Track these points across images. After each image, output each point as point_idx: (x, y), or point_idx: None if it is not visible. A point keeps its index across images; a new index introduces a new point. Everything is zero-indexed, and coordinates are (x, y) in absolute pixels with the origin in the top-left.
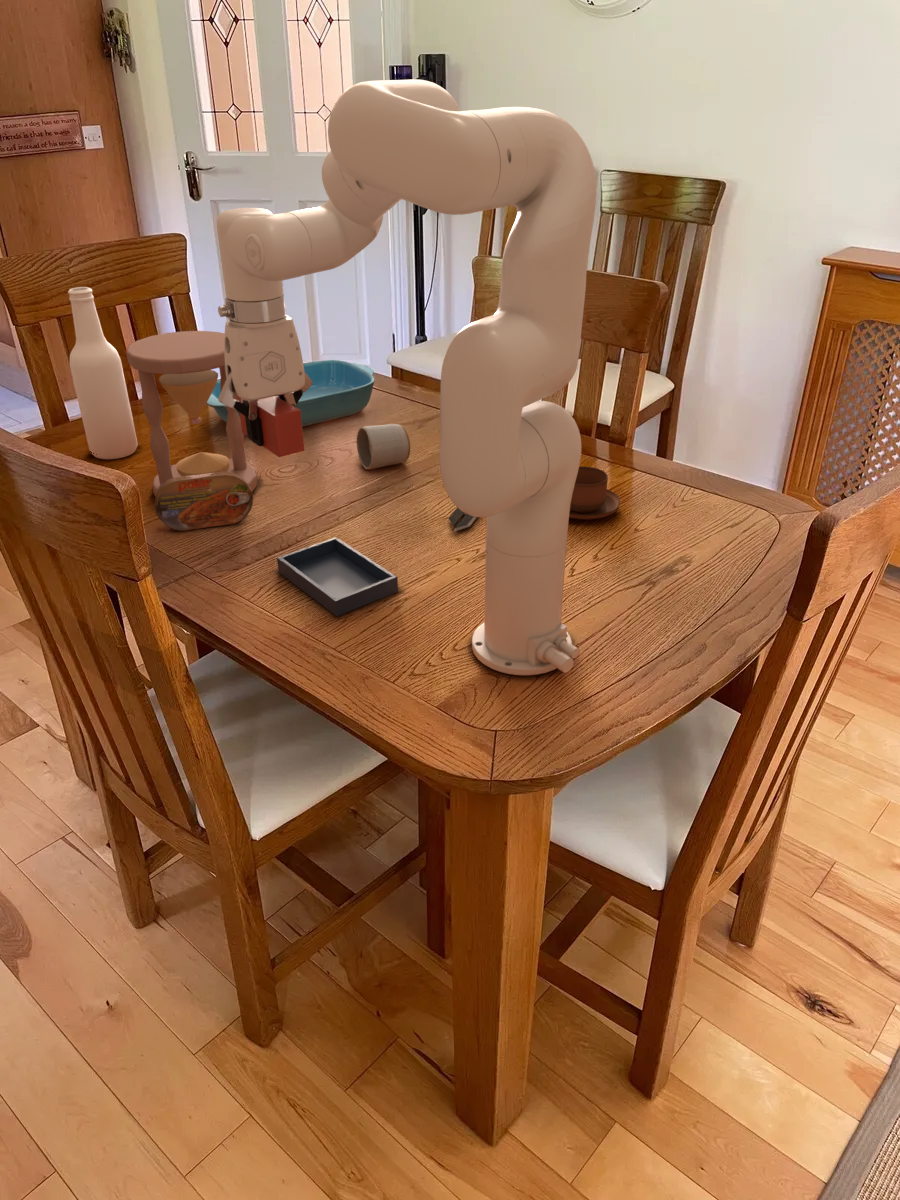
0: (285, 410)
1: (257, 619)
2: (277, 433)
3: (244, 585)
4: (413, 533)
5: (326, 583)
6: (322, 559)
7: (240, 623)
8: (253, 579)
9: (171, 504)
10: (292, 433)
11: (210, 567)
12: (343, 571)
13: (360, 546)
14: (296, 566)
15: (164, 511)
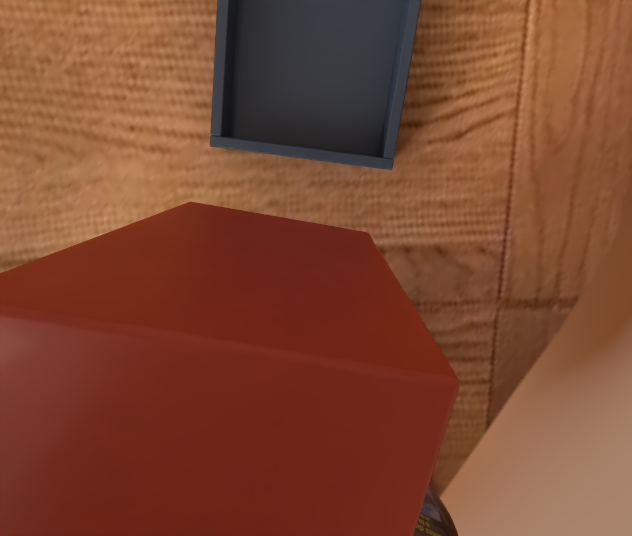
0: (162, 452)
1: (565, 14)
2: (386, 280)
3: (476, 175)
4: (10, 71)
5: (351, 14)
6: (280, 127)
7: (601, 31)
8: (444, 183)
9: (425, 525)
10: (234, 240)
11: (468, 298)
12: (281, 32)
13: (162, 121)
14: (347, 147)
15: (436, 519)
